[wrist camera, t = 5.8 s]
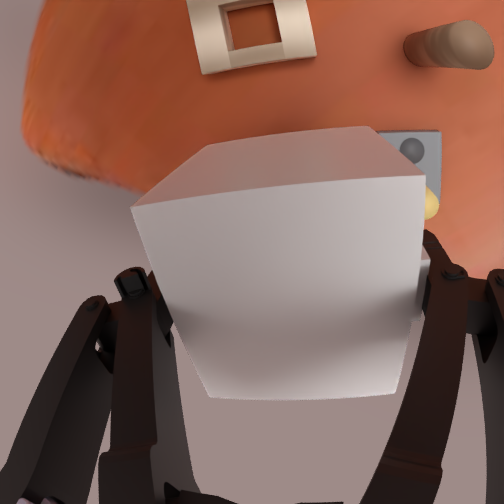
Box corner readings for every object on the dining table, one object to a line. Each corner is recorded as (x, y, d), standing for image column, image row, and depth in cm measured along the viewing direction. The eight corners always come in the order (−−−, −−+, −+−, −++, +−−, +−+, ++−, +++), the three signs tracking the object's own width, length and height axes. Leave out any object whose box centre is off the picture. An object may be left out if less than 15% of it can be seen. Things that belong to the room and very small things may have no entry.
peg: (400, 32, 20) (447, 16, 11) (433, 34, 19) (490, 24, 11) (406, 66, 21) (455, 67, 13) (438, 67, 21) (496, 72, 12)
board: (376, 131, 25) (390, 143, 21) (437, 130, 24) (460, 142, 20) (380, 203, 29) (392, 227, 24) (436, 199, 27) (455, 222, 23)
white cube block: (207, 145, 15) (129, 207, 9) (368, 125, 14) (425, 175, 7) (241, 289, 20) (209, 397, 13) (372, 280, 18) (395, 393, 11)
